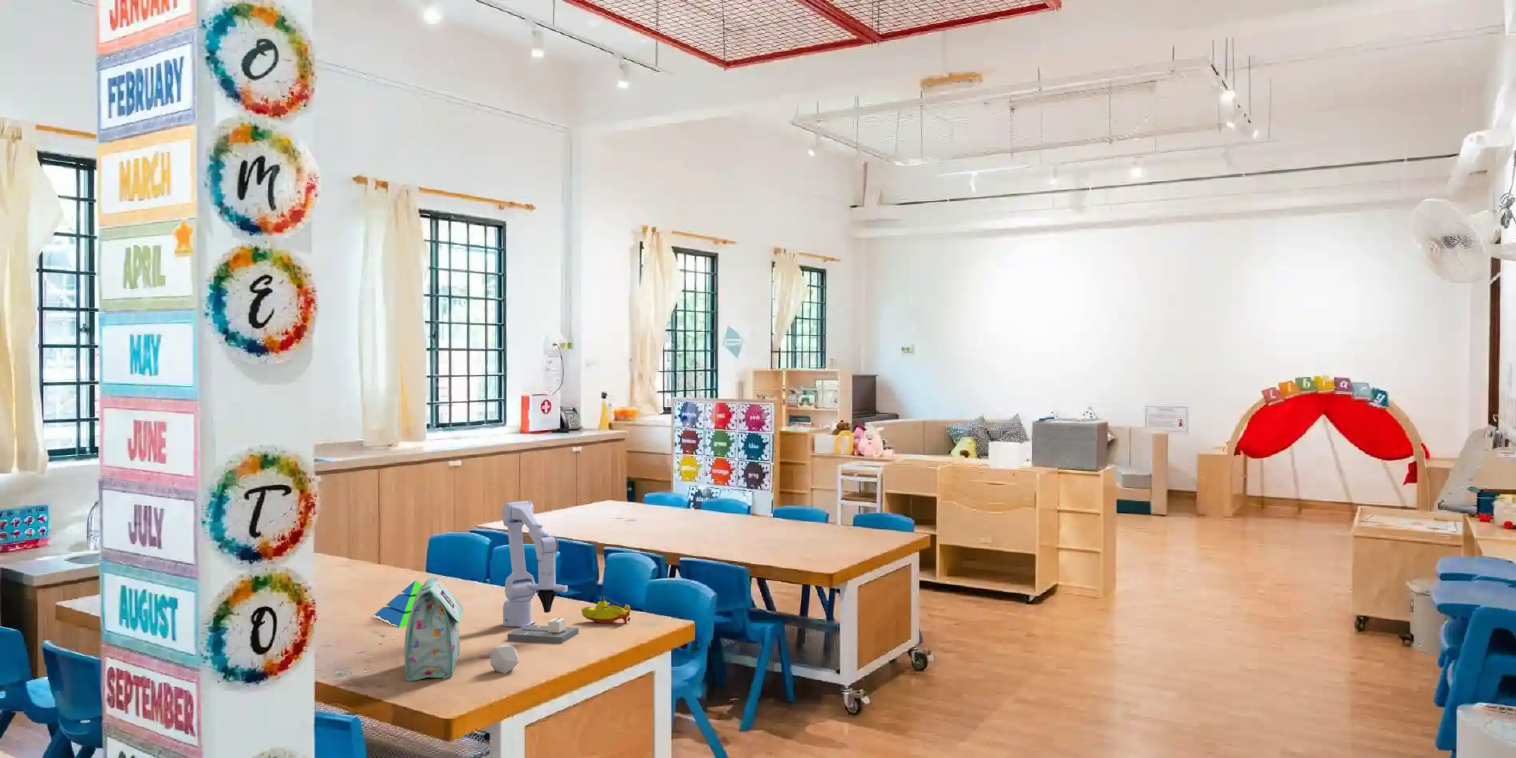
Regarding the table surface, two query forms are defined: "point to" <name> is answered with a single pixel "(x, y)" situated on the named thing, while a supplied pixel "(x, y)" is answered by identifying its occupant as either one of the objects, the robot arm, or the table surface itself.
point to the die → (504, 658)
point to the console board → (542, 634)
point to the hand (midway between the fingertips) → (547, 612)
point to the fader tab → (557, 625)
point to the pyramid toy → (400, 606)
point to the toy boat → (606, 612)
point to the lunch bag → (432, 633)
